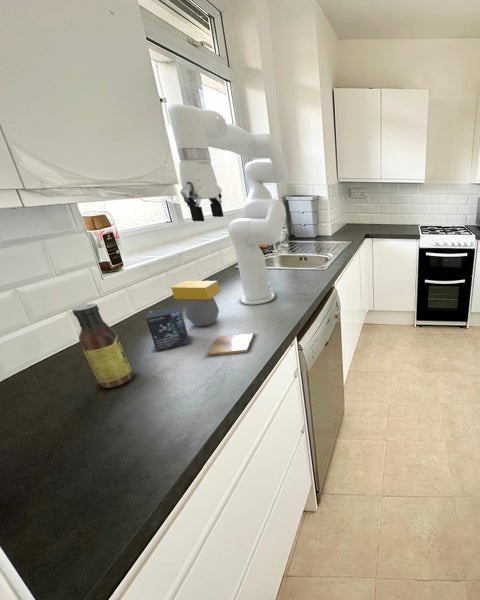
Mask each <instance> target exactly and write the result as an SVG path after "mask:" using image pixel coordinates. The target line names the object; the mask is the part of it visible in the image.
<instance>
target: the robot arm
mask: <svg viewBox="0 0 480 600" xmlns="http://www.w3.org/2000/svg"><path fill="white" fill-rule="evenodd" d="M167 110H168V111H167V112H168V117H169V121H170V124H171V125H170V126H171V128H172V133H173V138H174V141H175V145H176V149H177V150H176V151H177V155H178V158H179V161H178V167H179V168H178V169H179V177H180V182H181V190H180V191H179V192H180V195H181V197H182V198H183V201H184V202H185V204H186V205H187V207H188V208H189V213H190V216H191V220H192V221H193V222H205V215H204V212H203V207H202V206H200V205H201V201H202V200H207V199H208V200H209V202H210V203H209V206H210V210H211V215H212V217H214V218H222V217H224V212H223V206H222V203H223V201H222V197H223V196H222V188H221V187H220V186H219V185H218V181H217V177H216V174H215V171H214V168H213V165H212V159H211V153H210V150H209V149H210V148H213V149H217V150H222V151H227V152H228V151H229V152H231V153H233V154H237V155H239V156H241V157H244V158H246V159H268V160H252V161H251V160H250V161H249V162H247V163H246V164H245V166H244V176H245V179H246V183H247V186H248V191H249V192H248V194H247V196H246V199H245V201H244V204H243V206H242V209H241V218H236V219H233V220H231V221H230V223H229V224H228V227H227V231H228V236H229V238H230V241H231V243H232V245H233V249H234V251H235V255H236V261H237V265H238V271H239V275H240V280H241V281H240V282H241V285H242V291H243V295H242V296H241V298H240V302H241V303H242V304H244V305H251V306H252V305H261V304H262V305H263V304H266V303H269V302H271V301H273V300H274V299H275V298H276V295H275V293H274V291H271V287H273V283H272V282H269V277H268V271H267V270H268V269H267V266H266V259H265V254H264V252H263V250H262V249H261V248H260V247H259V246H272V245H275V244H277V243H278V241H280V240H279V239H280V238H281V235H282V231H283V228H284V225H285V222H286V218H287V212H286V207H285V205H284V203H283V202H282V201H281V200H279V199H275V198H273V196H272V194H271V192H270V191H269V189H268V188H267V187H266V186H265V185H264V184H284V183H286V182H287V181H288V180H289V177H290V171H289V167H288V164H287V162H286V160H285V158H284V157H285V156H284V155H283V153H282V149H281V147H280V146H279V144H278V142H277V140H276V139H275V138H274V136H273V135H271V134H270V133H253V132H248V131H247V130H245V129H243V128H242V127H240V126H238V125H236V124H234V123H233V124H232V123H228V122H227V121H226V119H225V118H224V116H223V115H222V114H220V113H219V112H217V111H215V110H213V109H202V108H198V107H196V106H193V105H189V104H181V103H179V104H175V103H174V104H170V105H169V106H168V109H167Z"/></svg>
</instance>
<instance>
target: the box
mask: <svg viewBox="0 0 480 600" xmlns="http://www.w3.org/2000/svg"><path fill="white" fill-rule="evenodd" d="M145 319H146V323H147V326H148V329H149V332H150V335H151V338H152V341H153V345H154V348H155V351H157V352H160V351H162V350H167V349H171V348H176V347H180V346H185V345H189V344H190V343H189V342H190V341H189V334H188V333H189V332H188V331H187V327H186V322H185V320H184V316H183V312H182V308H181V306H180V305H176V306H171V307H167V308H161V309H156V310H149V311H147V312H146V318H145Z"/></svg>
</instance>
